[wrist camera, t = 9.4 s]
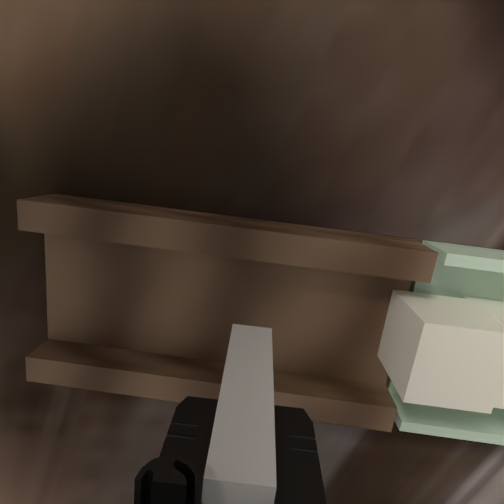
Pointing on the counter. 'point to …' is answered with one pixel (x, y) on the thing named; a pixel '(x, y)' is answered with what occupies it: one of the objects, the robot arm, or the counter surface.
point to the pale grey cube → (442, 351)
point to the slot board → (216, 303)
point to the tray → (457, 285)
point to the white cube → (500, 312)
